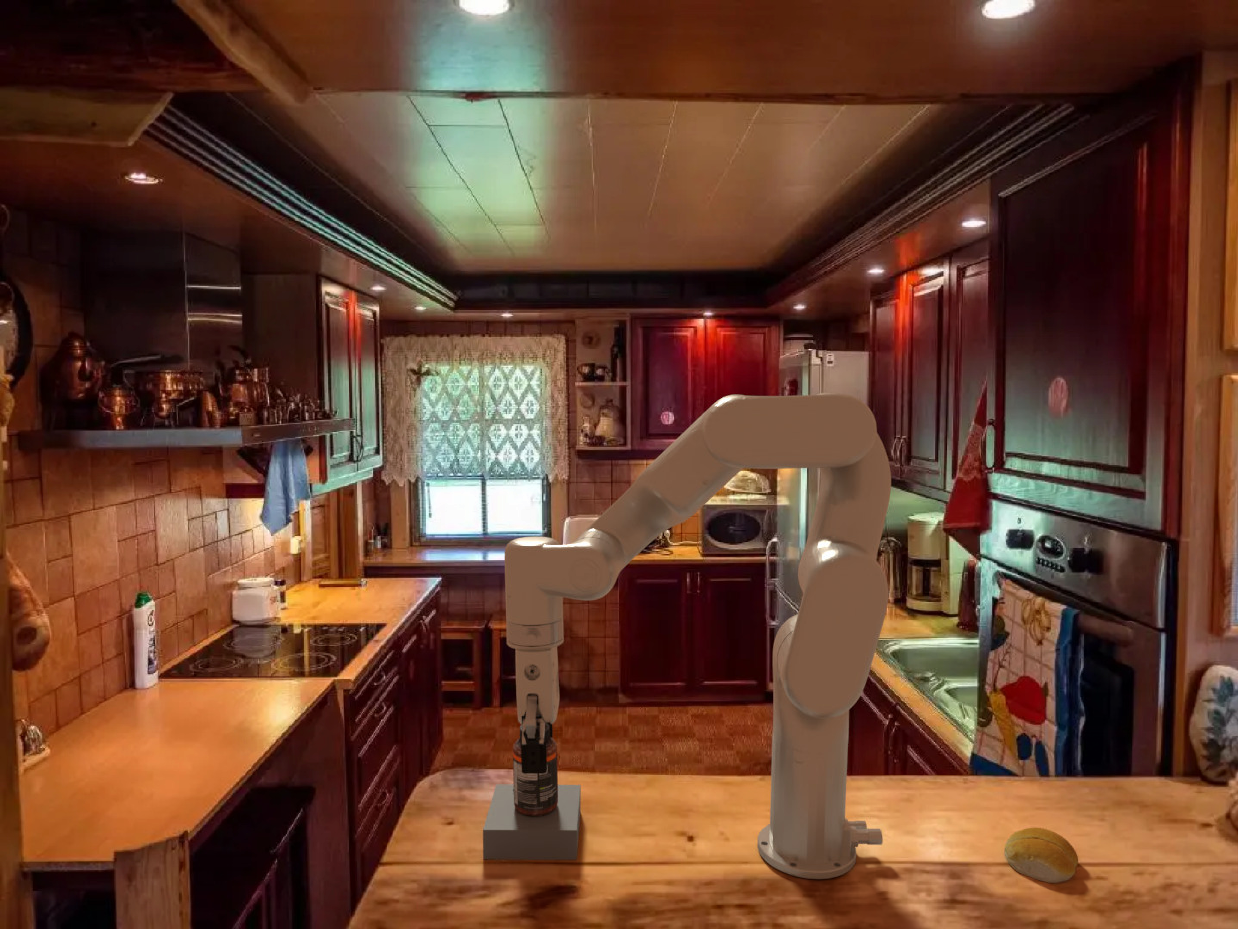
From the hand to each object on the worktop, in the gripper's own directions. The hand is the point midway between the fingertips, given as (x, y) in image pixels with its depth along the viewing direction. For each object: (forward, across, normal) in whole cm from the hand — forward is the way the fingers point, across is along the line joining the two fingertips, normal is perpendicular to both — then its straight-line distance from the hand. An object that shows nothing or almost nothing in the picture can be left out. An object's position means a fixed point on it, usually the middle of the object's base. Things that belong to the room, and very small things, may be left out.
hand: (537, 755), depth 111 cm
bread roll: (+13, -6, -65) cm, 67 cm away
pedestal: (+11, 0, +1) cm, 11 cm away
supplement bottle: (+7, 0, 0) cm, 7 cm away
